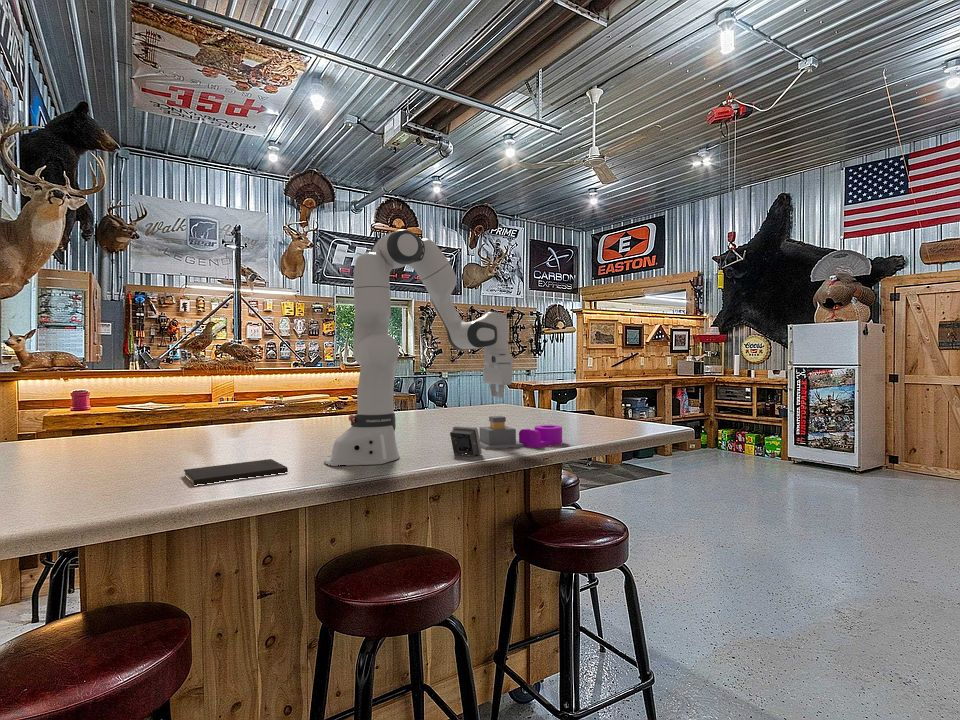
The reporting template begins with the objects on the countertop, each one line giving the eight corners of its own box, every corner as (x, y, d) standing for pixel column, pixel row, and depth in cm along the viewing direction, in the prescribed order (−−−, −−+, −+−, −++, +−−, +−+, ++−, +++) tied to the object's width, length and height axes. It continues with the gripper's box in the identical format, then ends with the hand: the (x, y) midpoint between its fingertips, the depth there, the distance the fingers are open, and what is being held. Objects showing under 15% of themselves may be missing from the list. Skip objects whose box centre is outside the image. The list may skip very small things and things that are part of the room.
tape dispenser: (546, 441, 198) (546, 424, 198) (567, 444, 191) (567, 426, 191) (517, 446, 187) (517, 428, 187) (538, 449, 180) (538, 431, 180)
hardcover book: (183, 478, 144) (183, 469, 144) (271, 466, 158) (271, 458, 158) (193, 489, 131) (193, 479, 131) (287, 475, 145) (287, 467, 145)
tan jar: (493, 443, 185) (493, 417, 185) (489, 441, 189) (489, 416, 189) (506, 442, 187) (505, 417, 186) (501, 440, 191) (501, 415, 191)
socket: (485, 449, 179) (485, 431, 179) (472, 443, 192) (472, 426, 192) (523, 446, 184) (523, 429, 184) (508, 440, 197) (508, 424, 197)
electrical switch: (482, 455, 170) (480, 426, 169) (473, 459, 165) (471, 430, 164) (458, 452, 175) (456, 424, 174) (449, 456, 170) (447, 428, 169)
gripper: (478, 358, 197) (479, 395, 197) (498, 358, 177) (498, 399, 177) (494, 358, 199) (495, 394, 199) (515, 357, 179) (516, 398, 179)
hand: (497, 396), depth 188 cm, fingers open, 5 cm apart
